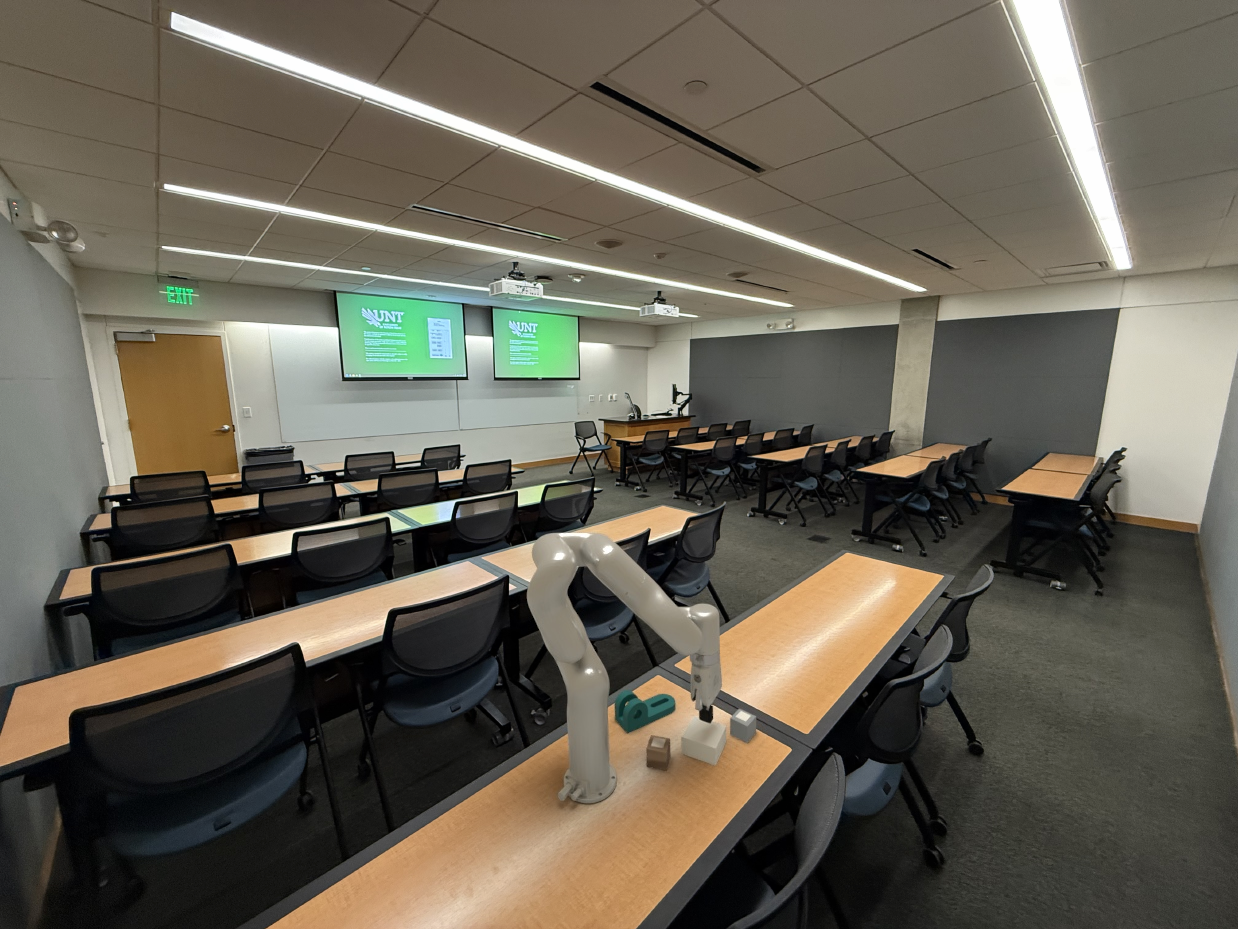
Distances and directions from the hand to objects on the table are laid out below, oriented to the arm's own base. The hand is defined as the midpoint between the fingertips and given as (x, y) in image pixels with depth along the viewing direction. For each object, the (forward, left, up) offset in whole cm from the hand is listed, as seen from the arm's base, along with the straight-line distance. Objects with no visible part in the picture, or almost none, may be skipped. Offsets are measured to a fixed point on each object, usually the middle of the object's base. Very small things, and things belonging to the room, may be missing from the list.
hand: (706, 719), depth 123 cm
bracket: (+3, +19, -8) cm, 21 cm away
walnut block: (-10, +8, -8) cm, 16 cm away
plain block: (0, 0, -8) cm, 8 cm away
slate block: (+10, -7, -8) cm, 14 cm away
